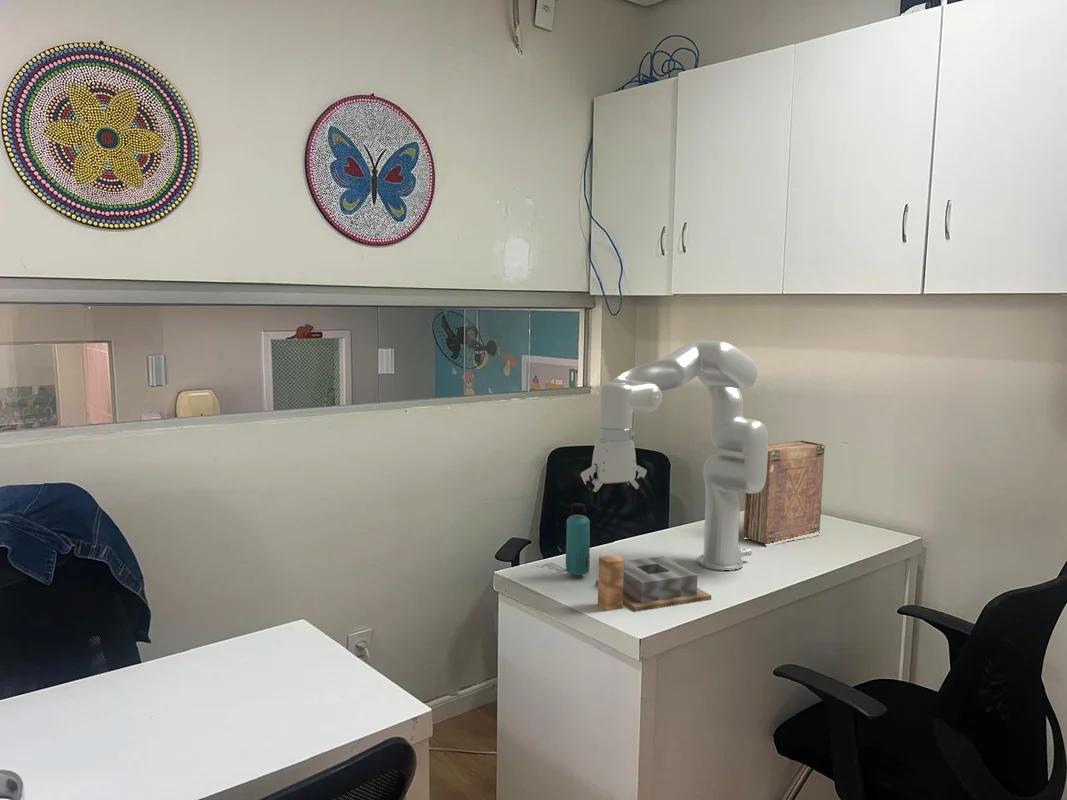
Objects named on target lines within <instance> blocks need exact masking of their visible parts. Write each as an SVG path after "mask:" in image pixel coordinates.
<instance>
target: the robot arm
mask: <svg viewBox="0 0 1067 800" xmlns="http://www.w3.org/2000/svg"><path fill="white" fill-rule="evenodd" d="M696 377H697V378H698V379H699V381H700V382H701V384H703V385H704V386H705V388H706V389H707V391H708V393H709V396H710V399H711V415H710V417H711V418H710V442H711V444H712V446H713V447H715V448H716V449H720V450H722V451H723V450H724V451H727V452H728V451H729V452H735V453H742V454H743V457H742V456H738V455H733V454H732V455H731V454H726V453H716V454H712V455H710V456H708V457H707V458H706V460H705V461H704V463H703V469H702V470H703V471H702V473H703V474H702V475H703V481H704V488H705V509H704V533H703V534H704V535H703V554H700V555H699V556H698V557H697V563H698V564H699V565H700V566H702V567H704V568H707V569H709V570H714V571H724V570H729V571H736V570H735V569H737V570H739V568H740V569H741V567H742V568H743V566H744V561H743V560H742V558H743V557H748V556H751V555H752V554H753V552H752V549H751V548H745V549H743V548H742V547H739V540H740V539H739V537H740V535H739V533H740V519H741V518H740V515H741V503H740V499H739V497H738V493H743V494H745V493H749V494H756V493H758V492H760V491H761V490H762V489H763V487H764V485H765V482H766V475H767V459H768V444H769V432H768V430H767V427H766V425H765V424H764V423H763V422H761V421H759V420H757V419H754V418H745V417H744V399H743V395H742V392H741V390H742V389H743V390H744V389H745V390H746V389H749V388H751V387H752V386H753V385H754V383H756V381H757V378H758V369H757V365H756V362H755V361H754V360H753V359H752V358H751V357H750V356H748V354H746V353H744V352H743V351H742V350H740V349H739V348H738V347H736V346H734V345H732V344H730V343H729V342H727V341H723V340H722V341H721V340H707V339H706V340H704V339H702V340H701V339H700V340H699V339H698V340H691V341H689V342H687V343H685V344H684V345H681V347H680V348H677V349H676V350H674V351H673V352H671V353H670V354H668V355H667V356H665V357H664V358H662V359H658V360H654V361H650V362H649V363H648V362H647V363H645V364H641V365H638V366H636V367H632V368H629V369H627V370H626V371H624V372H622V373H620V374H618V375H617V376H615V377H614V378H613V379H612V380H611V381H610V382H607V383H604V384H603V385H602V386H601V391H600V416H599V417H600V418H599V439H596V440H595V443H594V447H593V448H594V449H593V453H592V461H591V466H589V468H587V469H585V470H584V471H582V472H581V473H580V477H581V479H582V481H583V483H584V485H585V486H586V487H587V489H589V503H590V506H591V507H593V508H595V509H599V508H600V506H601V501H600V500H601V492H600V491H599V490H600V488H601V487H602V486H603V484H619V483H620V484H621V483H627V485H628V486H627V487H626V496H625V497H626V499H625V501H626V503H627V504H629V505H631V506H635V505H636V502H637V490H638V489H640V485H641V484H642V483H643V482H644V479H645V476H646V475H647V472H648V470H647V469H646V468H644V467H642V466H640V465H638V464H637V458H636V457H637V456H636V448H635V443H634V440H632V439H633V436H636V434H637V430H636V429H633V413H642V414H649V413H653V412H654V411H656V410H657V409H658V408H659V407H660V406H661V403H662V402H663V394H662V392H667V391H671V390H678V389H679V388H680V389H681V388H682V387H683V386H685V385H686V384H687V383H689V382H690V381H691V380H693V379H694V378H696ZM637 473H638V474H637ZM636 475H637V476H636ZM590 476H591V479H592V481H591V480H590ZM737 492H738V493H737Z"/></svg>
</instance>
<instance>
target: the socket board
mask: <svg viewBox="0 0 1067 800" xmlns="http://www.w3.org/2000/svg"><path fill="white" fill-rule="evenodd" d="M595 585H597V586H598V579H596V580H595ZM707 599H710V600H712V594H710V593H708V592H706V591H705V590H703V589H701V588H699V587H698V574H697V573H695V572H692V570H689V569H687V568H685V567H684V566H681V565H679V564H678V563H676V562H674V561H672V560H670V559H669V558H666V557H665V556H664V555H663V556H655V557H647V558H637V559H630V560H624V575H623V604H624V605H625V606H627V608H629V609H631V610H632V611H633V612H641V611H646V610H653V609H659V607H660V608H665V606H666V607H671V605H672V606H678V604H679V605H684V603H685V604H691V603H697V601H698V602H702V600H704V601H708V600H707ZM690 602H691V603H690Z"/></svg>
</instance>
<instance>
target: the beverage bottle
mask: <svg viewBox="0 0 1067 800" xmlns="http://www.w3.org/2000/svg"><path fill="white" fill-rule="evenodd" d="M586 508H587V506H586V504H585V503H583V502H582V503H581V502H574V503H571V505H570V513H572V514H573V515H572V514H571V515H570V516H569V517H568V518H567V519H566V540H565V542H566V543H565V569H566V572H567V574H569V575H573V576H574V575H575V576H582V575H587V574H589V572H590V562H591V561H590V557H591V556H590V555H591V554H590V548H591V546H590V542H591V539H590V537H591V535H590V530H591V529H590V527H591V525H590V523H591V520H590V519H589V518H588V517H587V516H586V515H583V514H586V513H587V509H586Z"/></svg>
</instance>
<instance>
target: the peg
mask: <svg viewBox="0 0 1067 800" xmlns="http://www.w3.org/2000/svg"><path fill="white" fill-rule="evenodd" d="M624 561H625V559H623V558H622V557H620V556H618V555H617V554H610V555H609V554H608V555H603V556H598V577H597V578H598V579H597V580H598V585H597V605H598V606H599V607H600V608H601V609H603V610H604V611H606V612H608V611H615V610H622V609H624V607H623V604H624V603H623V575H624Z"/></svg>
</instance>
